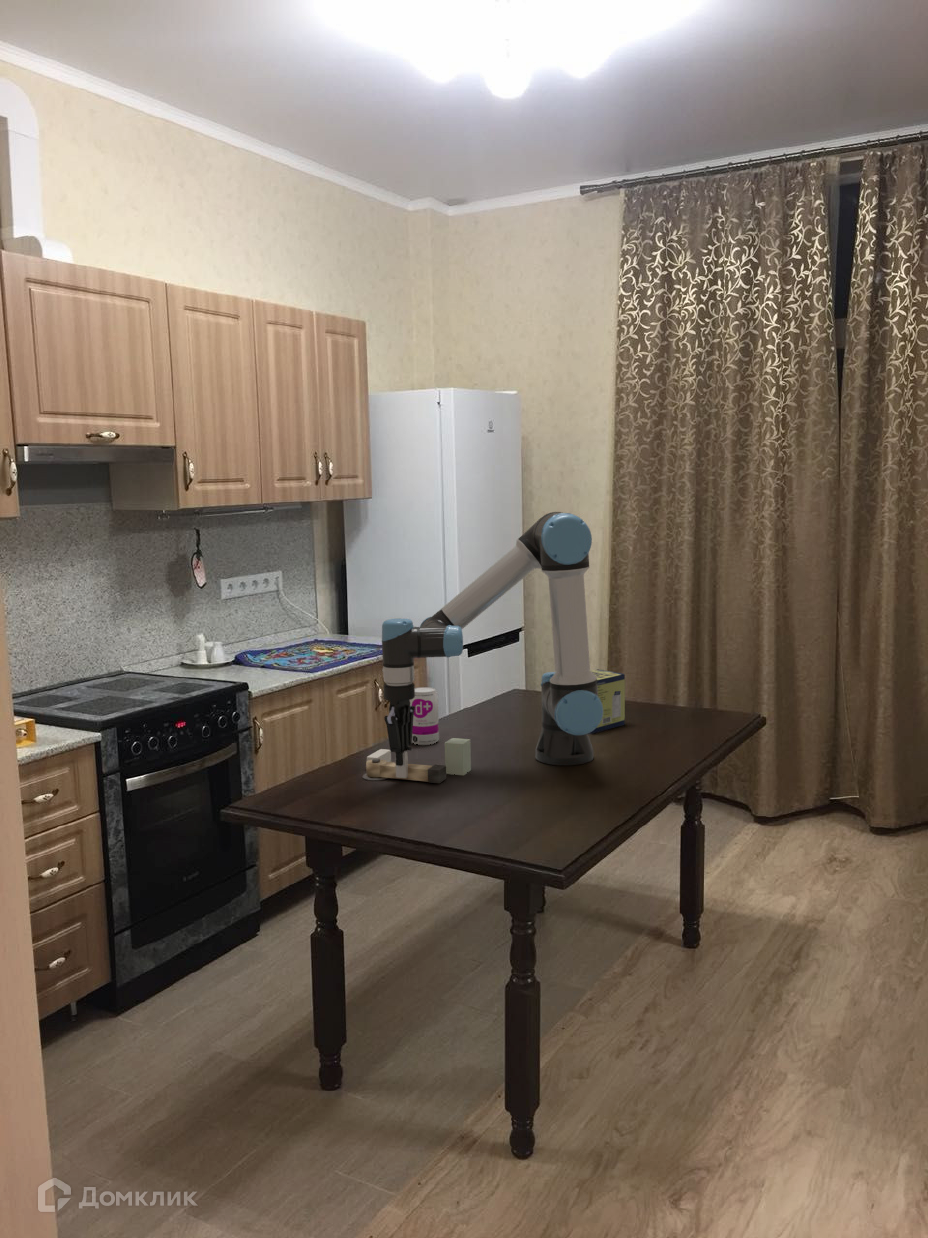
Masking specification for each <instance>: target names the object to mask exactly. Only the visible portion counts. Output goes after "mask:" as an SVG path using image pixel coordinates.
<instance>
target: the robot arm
mask: <svg viewBox="0 0 928 1238" xmlns="http://www.w3.org/2000/svg"><path fill="white" fill-rule="evenodd" d="M592 541H593V537H592V532H591V530H590V527H589V526H588V524H587V523H586V522H585V520H583V519H582V518H581V517H579V516H577V515H576V514H573V513H569V512H561V511H552V512H549V513H546V514H544V515H542V516H541V517H540V518H539V519H538V520H537V521H536V522H534V523H533V524H532V525H531V527H529V528H528V529H527V530H526V531H525V532H523V534H522V535H521V536H519V537H518V538H517V539H516V543H515V546H513V548H511V549H510V550H509V551H508V552H507V553H505V554H504V555H503V556H502V557H501V558H500V559H498V560H497V561H496V562H495V563H494V564H493V565H491V566H490V567H489V568H487V569H486V570H485V571H484V572H483V573H482V574H480V576H478V577H477V578H475V580H474V581H472V582H471V583H470V584H469V585H468V586H466V587H465V588H464V589H463V590H462V591H460V592H459V593H458V594H457V595H456V596H454V597H453V598H452V599H451V600H449V602H447V603H446V604H445V605H444V606H443V607H442V608H440V609H439V610H438V611H437V612H435V614H433V615H432V616H429V617H427V618H425V619H424V620H422V622H421V623H420V626H414V624H413V620H412V619H410V618H390V619H386V620H385V621H383V622H382V624H381V647H382V649H381V651H382V669H381V671H382V676H383V677H382V678H383V682H384V685H383V699H384V700H386V701H388V702H389V705H388V706H389V707H388V711H389V712H388V715H384V717H383V718H384V722H385V724H386V731H387V736H388V738H387V739H388V743H389V750H390V751H391V753H394V762H395V767H396V778H407V777H408V764H409V760H408V758H409V757H408V756H409V755H408V751H411V750H412V747H411V746H412V744H413V743H412V730H413V715H414V711H415V706H411V705H410V700H411V699H413V698H414V697H415V688H416V687H415V683H414V681H415V662H414V660H415V659H421V658H451V657H459V656H461V655H462V654H463V651H464V636H463V630H464V628H466V627H467V626H468V625H469V624H470V623H472V622H473V621H474V620H476V618H478V617H479V616H480V615H481V614H482V613H484V612H485V611H486V610H487V609H489V608H490V607H491V606H492V605H493V604H494V603H496V602H497V601H498V600H499V599H501V597H503V596H504V595H505V594H507V592H509V591H510V590H511V589H513V588H514V587H515V586H516V585H517V584H518V583H520V582H521V581H522V580H523V579H525V578H526V577H527V576H528V575H529V574H531V572H533V571H534V570H536V569H537V570H538V569H539V570H540V569H541V572H542V573H543V574H544V575H546V576H547V578H548V590H549V603H550V604H549V605H550V618H551V632H552V633H551V634H552V642H553V643H552V644H553V645H552V646H553V659H554V671H548V672H545V673H543V674H542V676H541V683H540V686H541V687H540V688H541V731H540V734H539V738H538V741H537V744H536V747H535V760H536V761H538V762H541V763H543V764H548V765H554V766H577V765H582V764H587V763H590V762H592V761H593V759H594V748H593V745H592V742H591V738H590V734H589V733H590V732H592V731H593V730H594V729H595V728H596V727H597V726H598V725H599V724H600V722H601V720H602V717H603V706H602V702H601V700H600V698H599V697H598V687H597V677H596V676H595V675H594V674H593V673H592V672H591V671H592V670H591V665H590V663H591V661H590V649H589V637H588V636H589V635H588V618H587V617H588V616H587V607H586V606H587V605H586V591H585V590H586V589H585V588H586V587H585V573H586V572H587V571H588V570H589V569H590V556H589V555H590V551H591V548H592V543H593V542H592ZM396 778H395V779H396Z"/></svg>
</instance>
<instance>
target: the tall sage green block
mask: <svg viewBox="0 0 928 1238" xmlns="http://www.w3.org/2000/svg"><path fill="white" fill-rule="evenodd" d="M471 748H472V747H471V739H468V738H458V737H457V738H456V737H451V738H450V739H448V740H447V741H445V742H444V766H446V775H454V774H455V776H456V775H457V776H465V775H466V774H468V773H469V772H470V771H471V770H472V760H471V758H472V754H471V751H472V750H471ZM467 772H468V773H467Z"/></svg>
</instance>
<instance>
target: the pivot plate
mask: <svg viewBox="0 0 928 1238" xmlns="http://www.w3.org/2000/svg"><path fill="white" fill-rule="evenodd" d="M362 779H364V780H366V781H367V780H368V781H383V780H388V778H385V777H369V776H367V772H365V773H364V774H363V775H362Z"/></svg>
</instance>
